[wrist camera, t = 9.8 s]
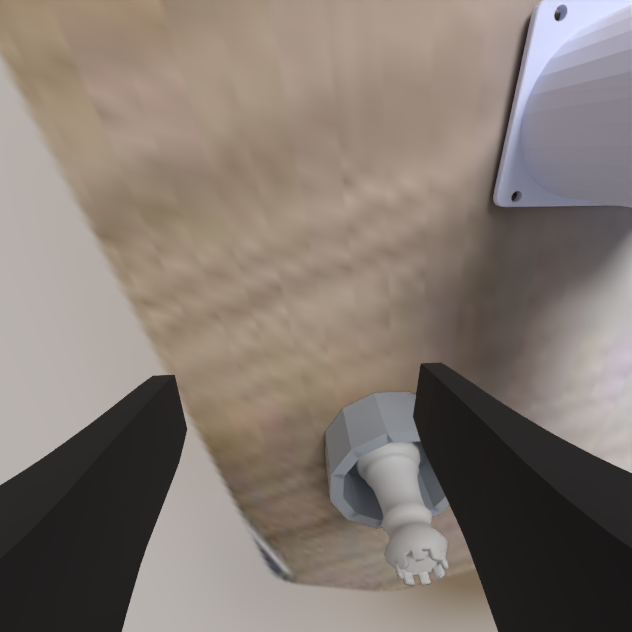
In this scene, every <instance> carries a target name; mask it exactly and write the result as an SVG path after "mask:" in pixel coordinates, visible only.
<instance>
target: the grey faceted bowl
mask: <svg viewBox="0 0 632 632" xmlns="http://www.w3.org/2000/svg"><path fill="white" fill-rule="evenodd" d="M415 399H416V395H415V394H413V393H411V392H408V391H404V392H384V393H372V394H370V395H368V396H366V397H364V398H362V399H360V400H358V401H356V402H354V403H352V404H350V405H348V406H346V407H344V408H343V409H342V410H341V411H340V413H339V414H338V415H337V417H336V418H335V419H334V421H333V422H332V423H331V425H330V426H329V427H328V429H327V430H326V431H325V459H326V468H327V476H328V485H329V494H330V501H331V502H332V503H333V504H334V505H335V506H336V508H337V509H338V510H339V511H340V512H341V513H342V514H343V515H344V516H345V518H346V519H347V520H350V521H353V522H357V523H360V524H363V525H366V526H370V527H373V528H376V529H377V528H383V527H382V522H383V518H384V517H383V513H382V509H381V507H380V504H379V502H378V499H377V497H376V494H375V492H374V490H373V489H372V488H371V487H370V486H369V485H368V484H367V482H366V481H365V480H364V479H363V478H362V477H361V476H360V474H359V473H358V470H357V468H356V465H355V463H356V462H357V460H358V459H359V458H360V457H361V456H363V455H365V454H367V453H369V452H372V451H374V450H376V449H378V448H380V447H382V446H384V445H387V444H389V443H399V442H416V445H417V446H418V449H419V453H420V463H419V466H418V467H419V473H418V476H417V477H418V484H419V489H420V493H421V497H422V500H423V502H424V505H425V507H426V508H427V509H429V510H430V511H431V513H432V517H433V516H435V515H438V514H440V513H442V512H443V511H444V510H445V509H446V508H447V507H448V506H449V502H448V500H447V498H446V496H445V494H444V492H443V490H442V488H441V486H440V483H439V481H438V479H437V477H436V475H435V473H434V471H433V469H432V467H431V464H430V462H429V460H428V458H427V456H426V454H425V451H424V449H423V447H422V444H421V441H420V438H419V435H418V432H417V429H416V425H415V422H414V419H413V412H414V406H415Z"/></svg>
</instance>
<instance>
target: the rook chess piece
mask: <svg viewBox="0 0 632 632" xmlns="http://www.w3.org/2000/svg"><path fill="white" fill-rule="evenodd" d="M419 463H420V453H419V449H418V446H417V445H416V442H399V443H389V444H387V445H384V446H382V447H380V448H378V449H376V450H374V451H372V452H369V453H367V454H365V455H363V456H361V457H360V458H359V459H358V460H357V462H356V463H355V465H356V468H357V470H358V473H359V474H360V476H361V477H362V478H363V479H364V480H365V481H366V482H367V484H368V485H369V486H370V487H371V488H372V489H373V490H374V492H375V494H376V497H377V499H378V502H379V504H380V507H381V509H382V513H383V517H384V518H383V522H382V527H383V530H384V531H385V532H386V533H387V534H389V539H390V540H389V542H388V545H387V548H386V551H385V554H384V555H385V558H386V560H387V562H388V563H389V564H390V565H392V566H393V567H394V568H395V569H396V572H397V576H398V579H399V580H401V579H403V581H404V584H406V585H410V586H413V585H414V583H415V582H414V579H413V576H419V578H420V582H421V585H422V586H424V585H428V584H431V581H430V578H429V574H428V573H430V572H432V571H434V573H435V576H436V578H438V579H441V578H442V577H444V576H445V575H446V573H445V570H444V569H448V568H449V566H448V562H447V560H446V557H445V556H446V553H447V549H448V543H447V539H446V538H445V537H444V536H443V535H442V534H440V533H439V532H438V531H436V530H435V529H434V528H433V527H432V525H431V521H432V519H433V517H432V513H431V511H430V510H429V509H427V508H426V507H425V505H424V502H423V500H422V497H421V493H420V489H419V484H418V477H417V476H418V473H419V467H418V466H419Z"/></svg>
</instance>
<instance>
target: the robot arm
mask: <svg viewBox="0 0 632 632" xmlns="http://www.w3.org/2000/svg"><path fill="white" fill-rule="evenodd" d="M556 8H557V9H559V11H560V18H559V20H558V21H556V20H555V18H554V13H555V10H556ZM515 191H516V192H517V197H516V199H514V200H513V201H512V200H511V196H512V194H513V193H514V192H515ZM493 201H494V203H495V204H496V205H497V206H501V207H541V206H605V205H618V206H624V207H630V208H632V0H543V1H541V2H540V3H539V4H537V6H536V7H535V8H534V10H533V13H532V15H531V20H530V25H529V29H528V34H527V39H526V44H525V48H524V53H523V58H522V62H521V67H520V72H519V77H518V81H517V86H516V91H515V96H514V100H513V105H512V110H511V114H510V119H509V124H508V129H507V133H506V138H505V143H504V147H503V152H502V157H501V162H500V166H499V171H498V176H497V180H496V185H495V190H494V195H493ZM413 419H414V422H415V425H416V429H417V432H418V435H419V438H420V441H421V444H422V447H423V449H424V451H425V454H426V456H427V458H428V460H429V462H430V464H431V467H432V469H433V471H434V473H435V475H436V477H437V479H438V481H439V483H440V486H441V488H442V490H443V492H444V494H445V496H446V498H447V500H448V502H449V505H450V507H451V509H452V511H453V513H454V515H455V517H456V519H457V521H458V524H459V526H460V528H461V531H462V533H463V535H464V538H465V540H466V542H467V545H468V548H469V551H470V553H471V556H472V559H473V561H474V564H475V567H476V570H477V572H478V575H479V578H480V580H481V583H482V586H483V589H484V592H485V595H486V598H487V600H488V604H489V606H490V609H491V612H492V615H493V618H494V621H495V624H496V626H497V630H498V632H632V473H630V472H628V471H626V470H623V469H621V468H619V467H617V466H615V465H612V464H610V463H608V462H606V461H604V460H602V459H600V458H598V457H596V456H594V455H592V454H590V453H588V452H586V451H584V450H582V449H580V448H578V447H577V446H575V445H573V444H571V443H569V442H567V441H565V440H563V439H561V438H559V437H558V436H556V435H554V434H552V433H550V432H549V431H547V430H545V429H543V428H542V427H540V426H538V425H537V424H535V423H533V422H532V421H530V420H528V419H527V418H525V417H523V416H522V415H520V414H518V413H517V412H515V411H514V410H512V409H511V408H509V407H507V406H506V405H504V404H503V403H501V402H500V401H498V400H497V399H495V398H494V397H492V396H491V395H489V394H488V393H486V392H485V391H483V390H482V389H480V388H479V387H477V386H476V385H474V384H473V383H471V382H470V381H468V380H467V379H465V378H464V377H462V376H461V375H460V374H458V373H457V372H455V371H454V370H452V369H450V368H449V367H447V366H446V365H444V364H442V363H423V364H421V366H420V373H419V379H418V386H417V393H416V399H415V406H414V412H413ZM186 432H187V427H186V422H185V418H184V413H183V409H182V405H181V400H180V396H179V392H178V387H177V383H176V379H175V375H160V376H152V377H151V378H149V379H148V380H146V381H145V382H144V383H142V384H141V385H140V386H138V387H137V388H136V389H134V390H133V391H132V392H131V393H129V394H128V395H127V396H126V397H124V398H123V399H122V400H121V401H119V402H118V403H117V404H115V405H114V406H113V407H112V408H110V409H109V410H108V411H106V412H105V413H104V414H103V415H101V416H100V417H99V418H97V419H96V420H95V421H94V422H92V423H91V424H90V425H88V426H87V427H85V428H84V429H83V430H81V431H80V432H79V433H78V434H76V435H74V436H73V437H72V438H70V439H69V440H68V441H66V442H65V443H63V444H62V445H61V446H59V447H58V448H57V449H55V450H54V451H52V452H51V453H49V454H48V455H47V456H45V457H44V458H42V459H41V460H39V461H38V462H36V463H35V464H33V465H32V466H30V467H29V468H27V469H26V470H24V471H22V472H21V473H19V474H18V475H16V476H15V477H13V478H11V479H10V480H8V481H7V482H5V483H3V484H2V485H0V632H122V628H123V625H124V621H125V617H126V613H127V610H128V606H129V603H130V599H131V596H132V592H133V588H134V586H135V582H136V579H137V575H138V572H139V568H140V564H141V562H142V559H143V556H144V553H145V550H146V547H147V544H148V542H149V539H150V537H151V534H152V532H153V529H154V527H155V524H156V521H157V519H158V516H159V514H160V511H161V509H162V506H163V503H164V501H165V498H166V495H167V493H168V490H169V488H170V485H171V483H172V480H173V477H174V475H175V472H176V469H177V467H178V464H179V461H180V457H181V453H182V449H183V445H184V441H185V436H186Z"/></svg>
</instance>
